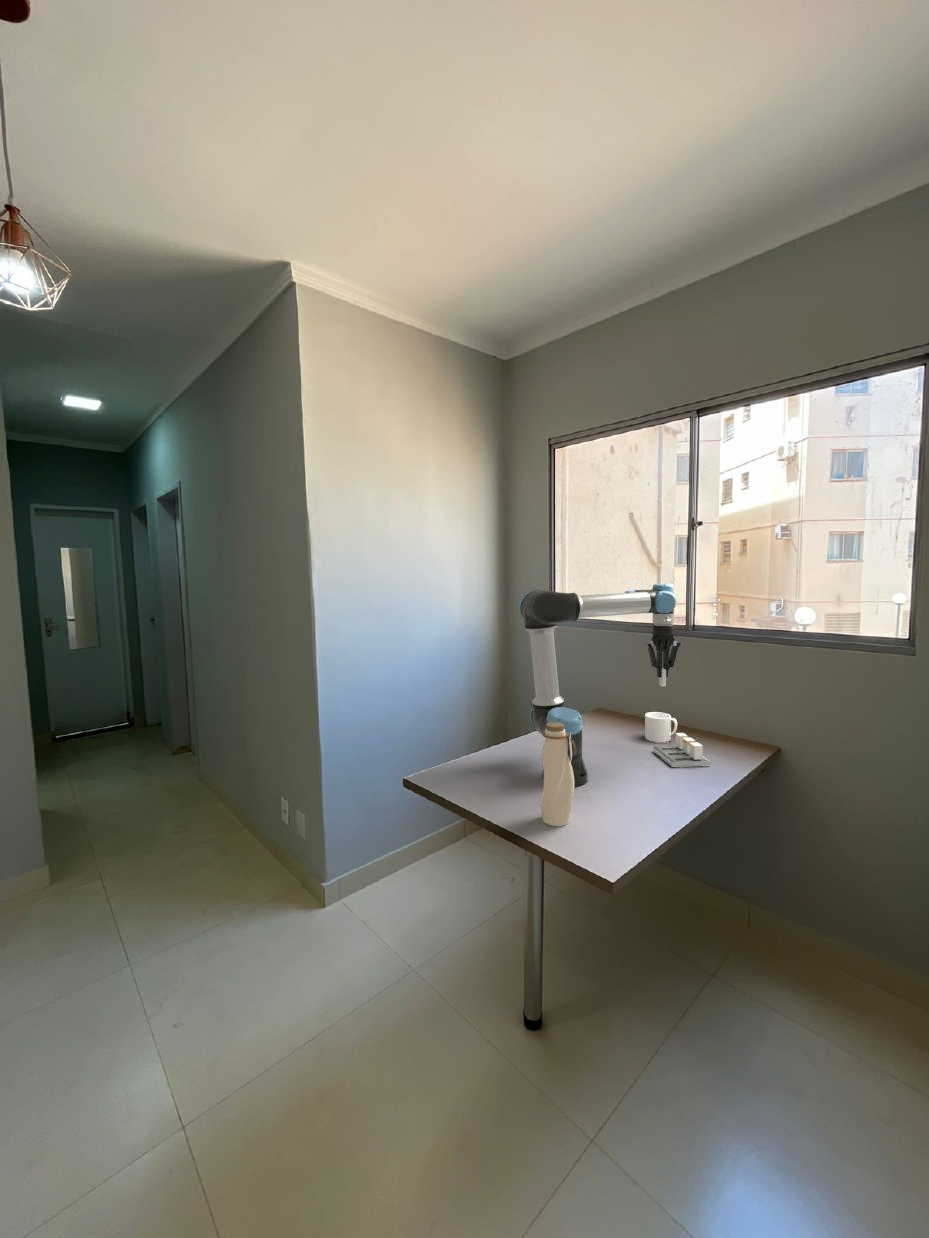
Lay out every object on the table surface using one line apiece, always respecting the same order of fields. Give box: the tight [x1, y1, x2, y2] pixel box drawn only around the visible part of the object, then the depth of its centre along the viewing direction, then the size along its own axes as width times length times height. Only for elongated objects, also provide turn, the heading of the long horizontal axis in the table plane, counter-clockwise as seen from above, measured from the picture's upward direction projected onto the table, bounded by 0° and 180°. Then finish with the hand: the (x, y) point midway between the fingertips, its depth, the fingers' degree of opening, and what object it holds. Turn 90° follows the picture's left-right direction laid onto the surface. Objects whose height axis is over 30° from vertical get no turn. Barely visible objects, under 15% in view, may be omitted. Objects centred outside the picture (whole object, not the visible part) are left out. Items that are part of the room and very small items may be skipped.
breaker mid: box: [682, 737, 696, 754], centre depth 186 cm, size 3×4×5 cm
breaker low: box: [689, 741, 704, 760], centre depth 181 cm, size 3×4×5 cm
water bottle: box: [540, 722, 576, 827], centre depth 142 cm, size 10×9×28 cm
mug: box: [644, 711, 678, 742], centre depth 208 cm, size 13×10×10 cm
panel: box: [652, 745, 711, 768], centre depth 187 cm, size 14×16×2 cm
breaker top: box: [674, 732, 689, 749], centre depth 192 cm, size 3×4×5 cm
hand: (662, 685), depth 191 cm, fingers closed
